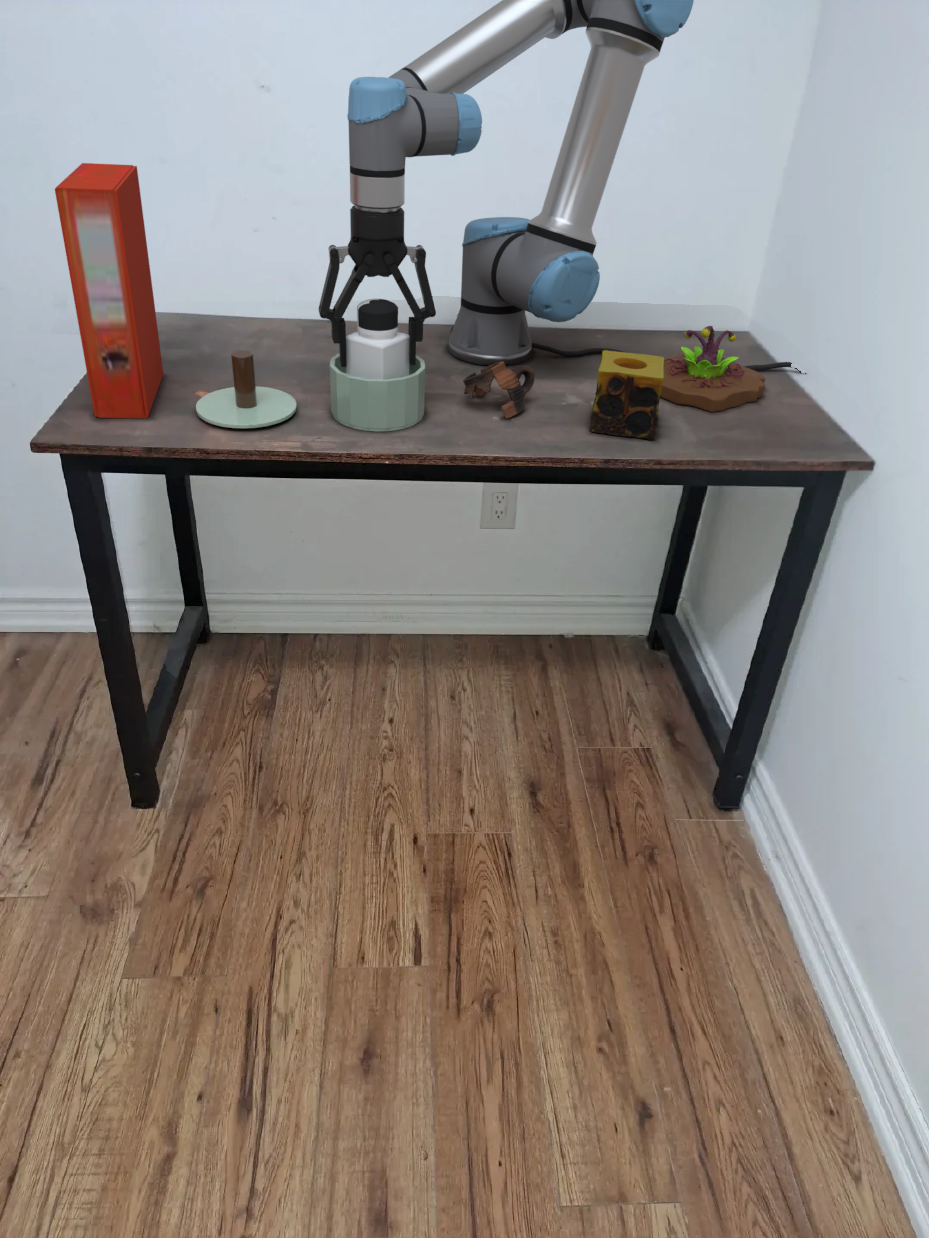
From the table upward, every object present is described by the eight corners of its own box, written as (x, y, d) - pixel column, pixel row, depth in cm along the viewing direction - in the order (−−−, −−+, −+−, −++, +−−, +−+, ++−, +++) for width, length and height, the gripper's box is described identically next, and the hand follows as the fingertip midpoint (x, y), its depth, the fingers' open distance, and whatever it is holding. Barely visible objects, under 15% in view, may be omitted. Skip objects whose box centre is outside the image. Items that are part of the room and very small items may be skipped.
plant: (620, 384, 162) (630, 320, 156) (680, 359, 175) (692, 298, 168) (721, 420, 152) (736, 352, 145) (778, 390, 164) (794, 327, 157)
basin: (401, 390, 156) (402, 343, 151) (438, 423, 145) (440, 374, 141) (319, 401, 150) (316, 352, 145) (351, 437, 140) (350, 386, 135)
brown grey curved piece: (495, 427, 146) (473, 378, 144) (468, 431, 155) (447, 384, 152) (554, 395, 150) (534, 346, 147) (525, 401, 158) (506, 354, 156)
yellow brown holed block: (654, 442, 144) (665, 379, 138) (588, 433, 145) (597, 371, 139) (656, 416, 152) (667, 356, 146) (594, 408, 153) (602, 348, 147)
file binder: (165, 376, 155) (136, 164, 137) (150, 418, 142) (116, 189, 123) (115, 375, 154) (78, 163, 136) (95, 418, 140) (51, 187, 122)
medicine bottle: (410, 380, 146) (411, 301, 139) (382, 393, 141) (382, 313, 134) (373, 369, 148) (372, 292, 142) (344, 382, 143) (343, 302, 137)
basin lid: (279, 388, 154) (276, 332, 148) (310, 424, 143) (307, 365, 137) (186, 400, 148) (178, 342, 142) (210, 438, 137) (203, 377, 132)
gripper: (451, 201, 135) (445, 352, 148) (293, 199, 131) (301, 355, 144) (461, 213, 129) (454, 370, 142) (297, 211, 125) (304, 373, 138)
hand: (377, 363), depth 143 cm, fingers closed on medicine bottle, 10 cm apart
